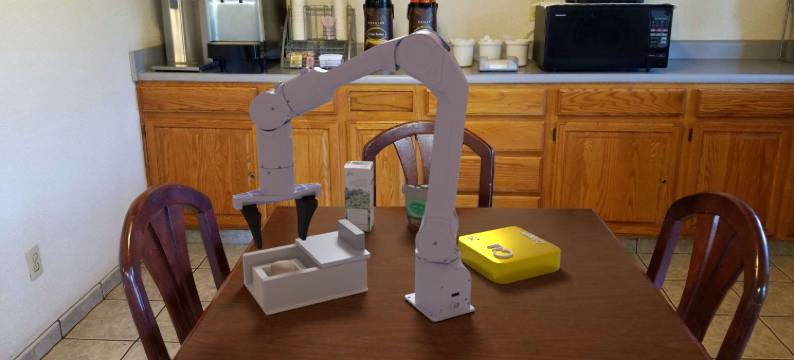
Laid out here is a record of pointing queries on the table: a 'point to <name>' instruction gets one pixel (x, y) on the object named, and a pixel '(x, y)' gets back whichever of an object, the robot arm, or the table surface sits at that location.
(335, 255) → the lid
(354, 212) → the syrup box
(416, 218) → the food container
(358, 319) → the table surface
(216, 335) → the table surface
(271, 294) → the housing
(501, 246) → the element tile
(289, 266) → the beige cylinder
